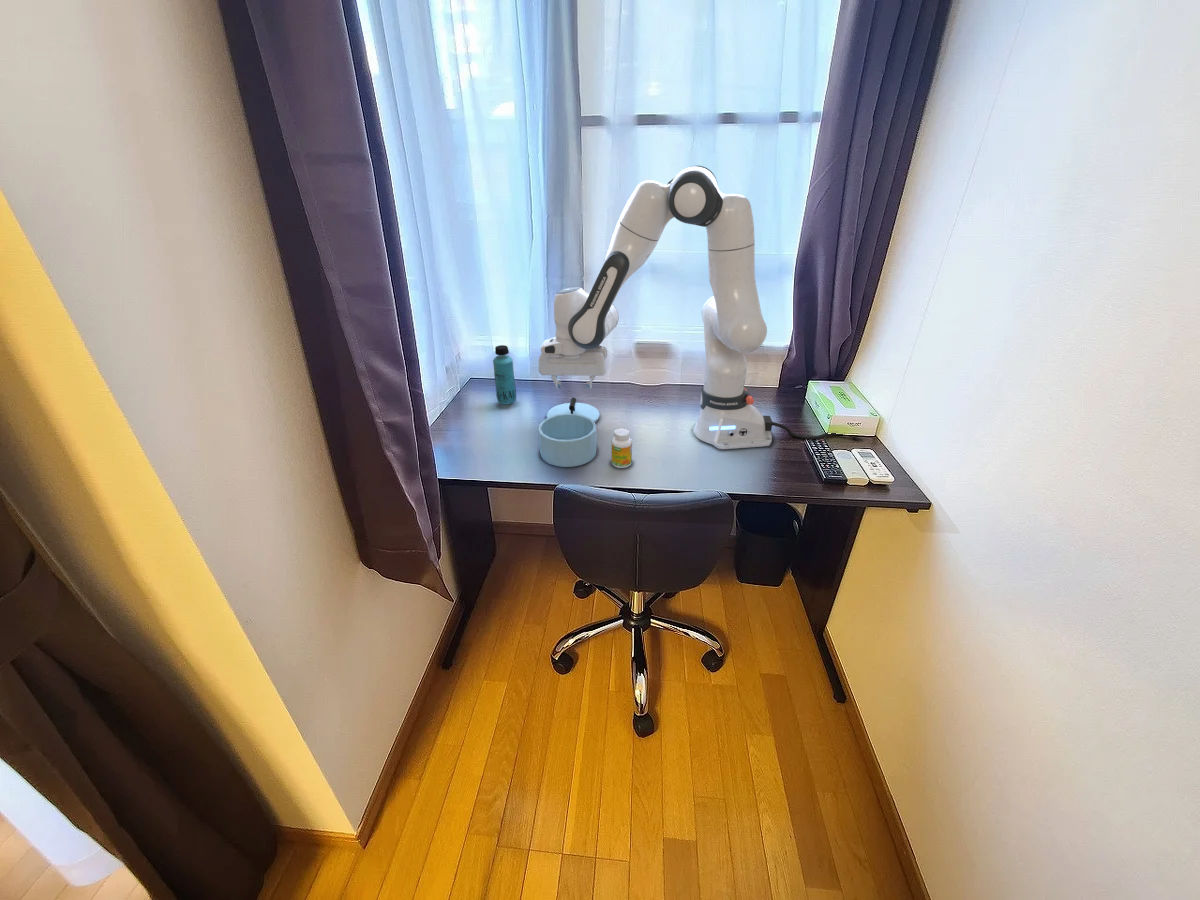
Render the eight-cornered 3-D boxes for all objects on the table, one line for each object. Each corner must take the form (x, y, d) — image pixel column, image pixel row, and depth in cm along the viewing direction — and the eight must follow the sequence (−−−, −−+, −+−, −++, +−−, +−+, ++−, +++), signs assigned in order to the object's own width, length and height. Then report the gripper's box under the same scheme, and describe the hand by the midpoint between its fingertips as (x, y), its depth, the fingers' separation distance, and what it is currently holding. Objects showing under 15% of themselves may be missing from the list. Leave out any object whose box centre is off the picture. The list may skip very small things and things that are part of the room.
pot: (598, 438, 147) (597, 414, 143) (594, 467, 134) (593, 442, 130) (545, 437, 148) (543, 413, 144) (536, 466, 135) (533, 440, 131)
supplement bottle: (610, 467, 134) (610, 436, 129) (612, 457, 139) (613, 426, 134) (630, 469, 133) (631, 437, 128) (632, 458, 138) (633, 427, 133)
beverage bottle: (499, 399, 170) (492, 342, 160) (519, 400, 170) (513, 343, 160) (495, 408, 165) (488, 350, 154) (515, 408, 165) (509, 350, 154)
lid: (601, 406, 166) (600, 391, 163) (597, 430, 152) (597, 414, 149) (551, 405, 167) (550, 389, 164) (542, 429, 153) (541, 413, 150)
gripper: (607, 340, 149) (608, 383, 156) (539, 340, 151) (543, 383, 158) (606, 348, 144) (607, 392, 151) (535, 348, 145) (539, 391, 152)
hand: (573, 387), depth 154 cm, fingers open, 8 cm apart
